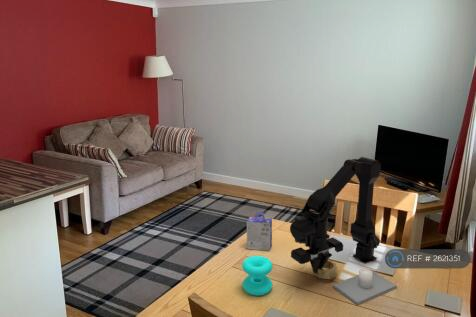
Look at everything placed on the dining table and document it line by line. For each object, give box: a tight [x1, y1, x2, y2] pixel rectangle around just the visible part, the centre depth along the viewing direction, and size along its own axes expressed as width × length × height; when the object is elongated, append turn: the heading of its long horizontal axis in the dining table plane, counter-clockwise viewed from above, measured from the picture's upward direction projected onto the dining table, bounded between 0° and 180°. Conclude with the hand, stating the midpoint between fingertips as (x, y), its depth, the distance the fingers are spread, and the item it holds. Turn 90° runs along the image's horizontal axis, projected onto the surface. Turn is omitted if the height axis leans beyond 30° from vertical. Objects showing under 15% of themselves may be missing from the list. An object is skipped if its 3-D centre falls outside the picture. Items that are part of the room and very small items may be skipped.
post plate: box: [332, 267, 398, 306], centre depth 126 cm, size 18×11×6 cm, turn 119°
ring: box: [312, 259, 338, 280], centre depth 133 cm, size 8×8×3 cm
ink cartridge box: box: [246, 212, 273, 252], centre depth 154 cm, size 10×6×14 cm, turn 78°
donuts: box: [241, 255, 274, 296], centre depth 126 cm, size 10×10×10 cm
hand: (316, 272), depth 131 cm, fingers closed on ring
